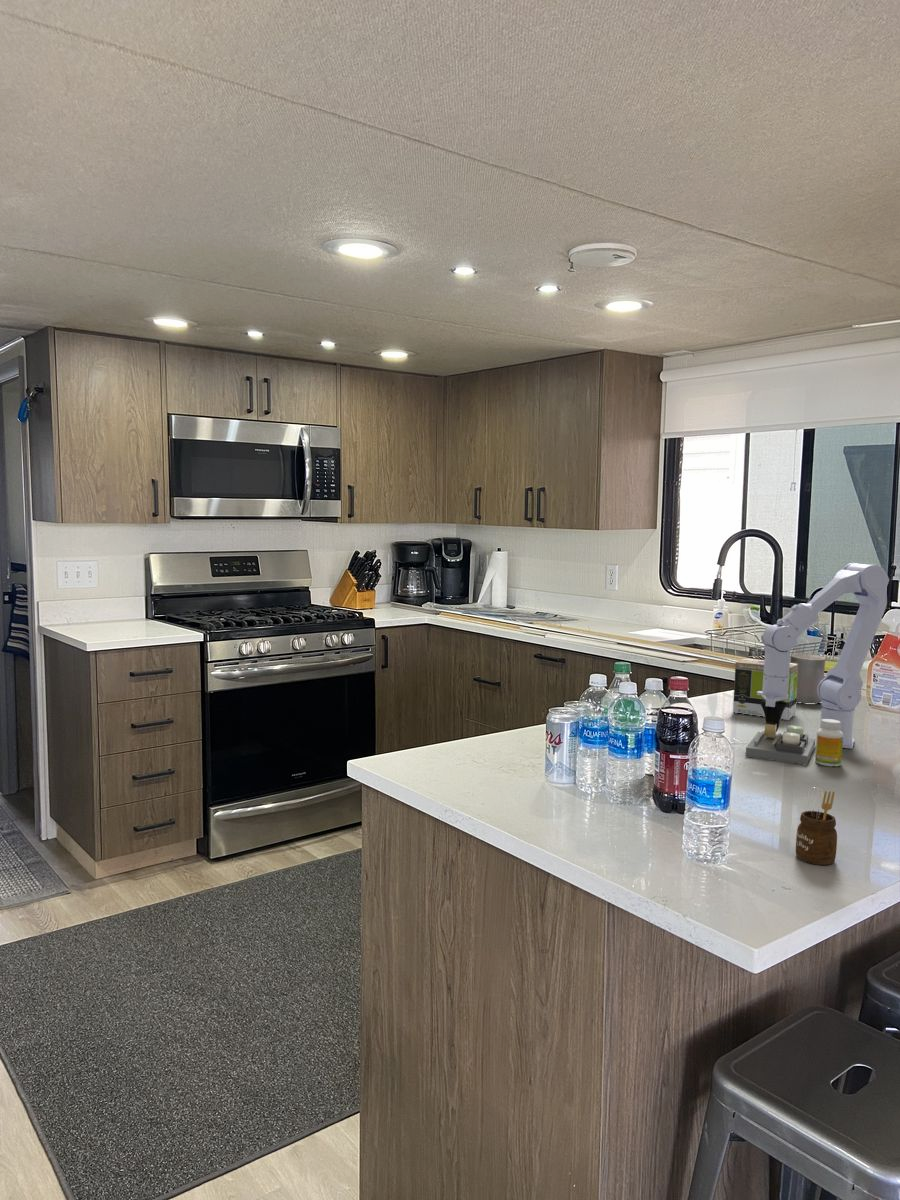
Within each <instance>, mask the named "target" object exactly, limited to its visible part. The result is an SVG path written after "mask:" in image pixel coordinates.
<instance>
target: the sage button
mask: <svg viewBox="0 0 900 1200" xmlns="http://www.w3.org/2000/svg"><path fill="white" fill-rule="evenodd" d="M804 729H805V728H804V727H802V726H798V725H787V727H786V732H788V733H796V734H799V735H800V738H803V734H805V733H804V732H805V730H804Z"/></svg>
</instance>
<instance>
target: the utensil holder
mask: <svg viewBox="0 0 900 1200" xmlns="http://www.w3.org/2000/svg"><path fill="white" fill-rule="evenodd" d="M815 788H816V790H817V791H816V792H817V799H820V798H819V797H820V794H819V788H818V787H817V786H813V787H811V788H810V789H809V790H808V793H807V799H809V796H810V795H809V794H810V791H811V790H812V792H811V793H814V790H815ZM820 791H821V794H822V795H821V796H822V797H821V798H822V803H821V808H820V804H817V811H816V810H814V808H812V810H811V809H810V808H811V807H810V806H808V807H809V810H805V811H803V812H801V814H800V817H799V821H800V823H799V824H798V826H797V828H796V829H797V830H796V839H795V855H796V857H797V859H799V860H800V861H802V862H804V863H808V864H812V865H817V866H829V865H832V864H834V863H835V861H836V857H837V847H838V833H837V830H836V826H837V819H836V817H835V816H833V815H831V814H829V813H828V811H830V810H832V808H833V804H834V800H835V799H834V797H835V795H836V794H835V791H832V792H831V791H830V790H829V791H827V790H826V791H824V793H823V792H822V790H820ZM831 793H832V794H831ZM809 802H810V801H809V800H807V804H808V805H810V803H809ZM811 804H812V807H814V801H811ZM819 808H820V811H819ZM822 810H823V811H822Z"/></svg>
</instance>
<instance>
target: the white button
mask: <svg viewBox="0 0 900 1200" xmlns="http://www.w3.org/2000/svg"><path fill="white" fill-rule="evenodd" d="M786 732H787V731H786ZM782 734H783V740H782V743H783V744H789V745H796V746H799V742H800V735H799V734H796V733H788V732H787V733H784V732H782Z"/></svg>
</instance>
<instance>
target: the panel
mask: <svg viewBox="0 0 900 1200" xmlns="http://www.w3.org/2000/svg"><path fill="white" fill-rule="evenodd" d="M783 733H787V731H783V732H781V733H779V732H778V733H776V737H775V738H772V737H765V736H764V730H761V731H757V733H756V734H755V735H754V737H753V738H752V739H751V741H750V742H749V743H748V745H747V746H746V747H745V757H747V758H748V757H750V758H755V759H762V760H769V761H775V762H782V761H783V763H789V764H795V763H797V765H802V764H805V765H804V766H807V765H808V764H809V762H808V761H810V759H811V757H812V755H811V754H813V753H812V752H814V750H815V748H816V739H815V738H809V734H805V733H803V738H800V742H799V746H796V745H789V744H783V743H782V740H783ZM814 747H815V748H814ZM807 763H808V764H807Z"/></svg>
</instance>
